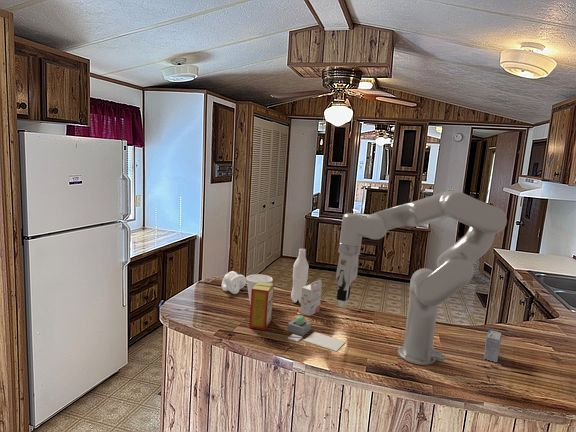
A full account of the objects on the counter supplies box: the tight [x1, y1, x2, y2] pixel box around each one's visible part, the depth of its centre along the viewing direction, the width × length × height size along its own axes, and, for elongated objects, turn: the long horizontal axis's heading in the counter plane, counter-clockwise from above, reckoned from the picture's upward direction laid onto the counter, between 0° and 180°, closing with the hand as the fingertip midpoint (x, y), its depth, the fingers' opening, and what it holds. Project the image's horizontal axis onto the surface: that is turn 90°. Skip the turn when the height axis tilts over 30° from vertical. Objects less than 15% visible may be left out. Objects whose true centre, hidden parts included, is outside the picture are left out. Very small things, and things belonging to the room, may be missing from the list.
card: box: [287, 333, 303, 343], centre depth 147 cm, size 4×4×1 cm
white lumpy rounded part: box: [221, 270, 247, 295], centre depth 192 cm, size 11×12×9 cm
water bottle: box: [290, 248, 310, 304], centre depth 183 cm, size 7×7×25 cm
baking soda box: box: [248, 282, 275, 331], centre depth 156 cm, size 10×6×16 cm
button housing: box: [286, 317, 312, 337], centre depth 154 cm, size 7×7×3 cm
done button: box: [295, 314, 306, 326], centre depth 154 cm, size 3×3×4 cm
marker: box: [337, 280, 349, 308], centre depth 141 cm, size 3×3×12 cm
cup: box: [245, 273, 274, 306], centre depth 176 cm, size 12×12×12 cm
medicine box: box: [483, 329, 503, 363], centre depth 144 cm, size 8×4×9 cm, turn 148°
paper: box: [303, 331, 347, 352], centre depth 146 cm, size 13×9×1 cm
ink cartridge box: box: [299, 279, 323, 317], centre depth 173 cm, size 9×5×15 cm, turn 143°
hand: (343, 298), depth 142 cm, fingers closed on marker, 3 cm apart
